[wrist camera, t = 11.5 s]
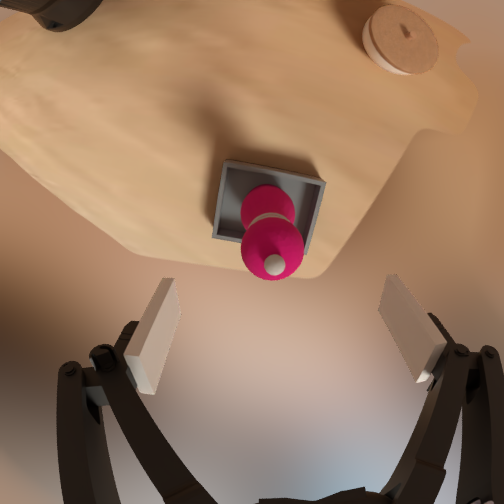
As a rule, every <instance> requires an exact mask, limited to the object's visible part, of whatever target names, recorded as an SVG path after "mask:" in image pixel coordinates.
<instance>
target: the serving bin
mask: <svg viewBox="0 0 504 504" xmlns="http://www.w3.org/2000/svg"><path fill="white" fill-rule="evenodd" d="M262 184H271V185H274V186H277V187H278V188H280V189H281V190H283V191H284V192H285V193H287V194H288V195H289V197H290V198H291V200H292V201H293V204H294V208H295V220H294V223H293V225H294V226H295V227H296V228H297V229H298V231H299V232H300V234H301V236H302V238H303V242H304V254H305V255H307V252H308V249H309V245H310V242H311V238H312V234H313V231H314V227H315V224H316V220H317V216H318V212H319V209H320V205H321V201H322V197H323V193H324V189H325V185H326V182H325V181H324V180H322V179H321V178H318V177H314V176H310V175H305V174H301V173H296V172H292V171H287V170H282V169H277V168H273V167H267V166H262V165H257V164H252V163H246V162H240V161H235V160H229V159H226V160H225V161H224V163H223V169H222V175H221V181H220V187H219V193H218V200H217V206H216V213H215V220H214V226H213V233H212V238H215V239H221V240H227V241H232V242H238V243H242V238H243V236H244V233H245V232H246V231H247V230H246V229H245V228H244V226H243V224H242V221H241V214H240V211H241V205H242V202H243V200H244V199H245V197H246V196H247V195H248V194H249V192H250V191H251V190H252V189H253V188H255V187H256V186H259V185H262Z"/></svg>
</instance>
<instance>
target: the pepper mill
mask: <svg viewBox="0 0 504 504" xmlns="http://www.w3.org/2000/svg"><path fill="white" fill-rule="evenodd" d="M240 214H241V221H242V224H243V226H244V228H245V229H246V230H247V231H246V232H245V233H244V236H243V238H242V243H241V255H242V259H243V262H244V263H245V265H246V267H247V268H248V269H249V270H250V272H252V273H253V274H254V275H256V276H257V277H259V278H262V279H264V280H280V279H284V278H286V277H288V276H289V275H291V274H292V273H293V272H294V271H295V270H296V269H297V268H298V267H299V266H300V264H301V262H302V260H303V255H304V242H303V238H302V236H301V234H300V232H299V231H298V229H297V228H296V227H295V226H294V225H293V223H294V220H295V208H294V204H293V201H292V200H291V198H290V197H289V195H288V194H287V193H285V192H284V191H283V190H281V189H280V188H278V187H277V186H274V185H271V184H262V185H259V186H256V187H255V188H253V189H252V190H251V191H250V192H249V194H248V195H247V196H246V197H245V199H244V200H243V202H242V205H241V211H240Z"/></svg>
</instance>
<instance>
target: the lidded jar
mask: <svg viewBox="0 0 504 504" xmlns="http://www.w3.org/2000/svg"><path fill="white" fill-rule="evenodd" d="M362 39H363V45H364V48H365V50H366V52H367V54H368V55H369V57H370V58H371V59H372V60H373V62H374V63H376V64H377V65H378V66H379V67H381V68H382V69H384V70H386V71H388V72H391V73H394V74H399V75H413V74H422V73H425V72H428V71H430V70H431V69H432V68H433V67H434V66H435V64H436V62H437V60H438V54H439V49H438V43H437V40H436V37H435V35H434V33H433V31H432V29H431V28H430V27H429V25H428V24H427V23H426V22H425V20H424V19H422V18H421V17H420V16H419V15H418V14H416V13H415V12H413V11H412V10H410V9H408V8H406V7H403V6H399V5H385V6H382V7H380V8H378V9H377V10H376V11H375V12H374V13H373V14H372V16H371V17H370V18H369V19H368V20H367V22H366V24H365V25H364V28H363V32H362Z"/></svg>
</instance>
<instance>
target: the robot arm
mask: <svg viewBox="0 0 504 504" xmlns="http://www.w3.org/2000/svg"><path fill="white" fill-rule="evenodd" d="M101 2H102V0H0V7H4V8H8V9H12V10H16V11H20V12H24V13H28V14H31V15H32V16H33V17H34V19H35V20H36V21H37V22H38V23H39V24H40V25H41V26H42V27H43V28H45V29H47V30H50V31H53V32H63V31H66V30H69V29H71V28H73V27H75V26H77V25H78V24H80V23H81V22H82V21H84V20H85V19H86V18H87V17H89V16H90V15H91V14H92V13H93V12H94V11H95V9H96V8H97V7H98V6H99V5H100V3H101ZM378 311H379V313H380V314H381V316H382V318H383V320H384V322H385V324H386V325H387V327H388V329H389V331H390V333H391V335H392V337H393V338H394V340H395V342H396V344H397V346H398V348H399V350H400V351H401V354H402V356H403V358H404V360H405V362H406V364H407V366H408V368H409V370H410V372H411V374H412V376H413V378H414V380H415V382H416V383H418V382H422V381H426V380H428V378H429V376H430V375H431V373H432V374H433V376H434V379H433V381H432V382H431V384H430V386H429V387H428V389H427V391H429V392H428V395H427V398H426V401H425V403H424V406H423V409H422V412H421V414H420V416H419V419H418V421H417V424H416V426H415V429H414V431H413V433H412V436H411V438H410V440H409V442H408V444H407V447H406V449H405V451H404V453H403V455H402V457H401V459H400V461H399V463H398V465H397V467H396V469H395V471H394V473H393V474H392V476H391V478H390V480H389V481H388V483H387V484H386V485H385V487H384V488H383V489H382V490H381V492H380V493H376V492H369V491H365V487H361V488H356V489H351V490H347V491H340V492H338V493H335V494H333V495H330V496H328V497H325V498H322V499H319V500H317V501H307V500H298V499H290V498H272V499H259V503H256V504H434V502H435V499H436V497H437V495H438V493H439V490H440V488H441V485H442V483H443V481H444V478H445V475H446V470H445V469H444V464H445V461H446V458H447V456H448V453H449V450H450V447H451V444H452V440H453V437H454V434H455V430H456V426H457V423H458V419H459V415H460V411H461V407H462V449H461V462H460V473H459V481H458V488H457V496H456V504H504V374H503V369H502V365H501V361H500V357H499V354H498V351H497V350H496V349H495V348H494V347H492V346H488V345H485V346H483V347H482V349H481V350H480V352H470V351H469V349H468V348H467V347H466V346H464V345H462V344H456V343H455V342H454V340H453V339H452V337H451V336H450V335H449V333H448V332H447V330H446V329H445V328H444V327H443V325H442V324H441V322H440V321H439V319H438V318H437V317H436V316H434V315H433V314H432V313H426V312H425V310H424V309H423V308H422V306H421V305H420V303H419V302H418V301H417V300H416V298H415V297H414V296H413V294H412V293H411V292H410V290H409V289H408V288H407V287H406V285H405V284H404V283H403V281H402V280H401V279H400V278H399V276H398V275H397V274H394V275H387V276H386V280H385V284H384V289H383V293H382V297H381V301H380V305H379V308H378ZM180 316H181V311H180V307H179V301H178V296H177V290H176V284H175V278H162V280H161V282H160V284H159V286H158V287H157V289H156V291H155V293H154V295H153V297H152V299H151V301H150V302H149V305H148V307H147V308H146V310H145V312H144V314H143V316H142V318H141V320H140V321H131V322H129V323H128V324H127V325H126V326H125V327H124V329H123V331H122V332H121V335H120V336H119V338H118V340H117V342H116V343H115V345H114V347H113V346H111V345H109V344H102V345H98V346H96V347H94V348H93V349H92V350H91V352H90V354H89V359H90V361H91V363H92V365H93V367H88V368H82V367H81V365H80V364H79V363H78V362H76V361H69V362H66V363H65V364H63V365H62V366H61V367H60V369H59V372H58V385H57V450H58V463H59V473H60V482H61V489H62V495H63V501H64V504H121V502H120V499H119V496H118V492H117V488H116V484H115V480H114V476H113V471H112V467H111V463H110V457H109V452H108V447H107V441H106V435H105V429H104V422H103V414H102V406H104V405H110V406H111V409H112V411H113V413H114V415H115V417H116V419H117V421H118V423H119V425H120V427H121V429H122V431H123V433H124V435H125V437H126V439H127V441H128V443H129V444H130V446H131V448H132V450H133V451H134V453H135V455H136V457H137V458H138V460H139V462H140V464H141V465H142V467H143V469H144V470H145V471H146V473H147V475H148V476H149V478H150V480H151V481H152V483H153V484H154V486H155V487H156V488H157V490H158V492H159V493H160V494H161V496H162V497H163V501H164V502H165V504H218V503H217V502H216V501H215V500H214V499H213V498H212V497H211V496H210V494H209V493H208V492H207V491H206V490H205V489H204V487H203V486H202V485H201V484H200V483H199V482H198V481H197V480H196V479H195V478H194V476H193V475H192V474H191V473H190V471H189V470H188V469H187V467H186V466H185V465H184V464H183V462H182V461H181V460H180V458H179V457H178V456H177V454H176V453H175V451H174V450H173V449H172V447H171V446H170V444H169V443H168V442H167V440H166V439H165V437H164V436H163V434H162V433H161V431H160V430H159V428H158V427H157V425H156V424H155V422H154V420H153V419H152V417H151V416H150V414H149V412H148V411H147V409H146V407H145V406H144V404H143V403H142V401H141V399H140V397H139V396H138V394H137V392H136V388H137V387H138V389H139V391H140V393H145V394H152V395H154V394H155V392H156V388H157V386H158V382H159V379H160V376H161V373H162V370H163V366H164V364H165V361H166V358H167V354H168V351H169V348H170V345H171V342H172V339H173V337H174V334H175V331H176V328H177V325H178V322H179V319H180Z"/></svg>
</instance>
